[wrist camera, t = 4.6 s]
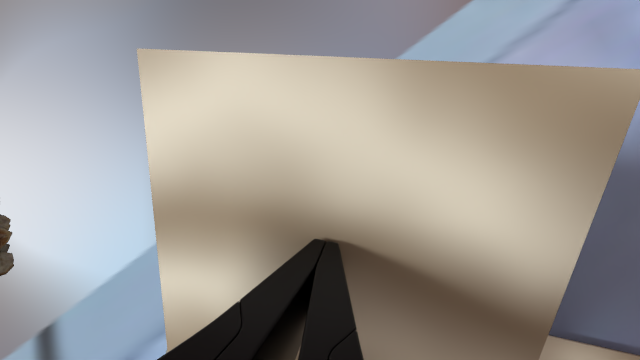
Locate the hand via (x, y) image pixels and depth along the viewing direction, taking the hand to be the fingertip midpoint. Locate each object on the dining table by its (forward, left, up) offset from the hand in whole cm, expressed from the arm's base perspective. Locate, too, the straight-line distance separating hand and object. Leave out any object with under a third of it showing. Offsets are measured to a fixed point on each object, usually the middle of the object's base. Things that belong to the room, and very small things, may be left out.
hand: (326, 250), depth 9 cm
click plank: (0, 0, -1) cm, 1 cm away
